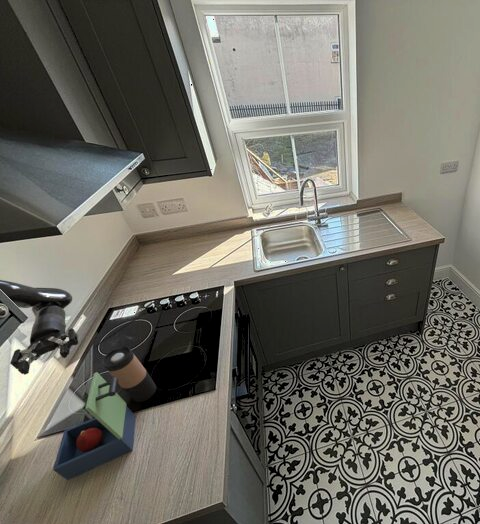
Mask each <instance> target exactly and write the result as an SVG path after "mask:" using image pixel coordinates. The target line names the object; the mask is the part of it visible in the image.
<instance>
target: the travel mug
mask: <svg viewBox="0 0 480 524" xmlns="http://www.w3.org/2000/svg"><path fill="white" fill-rule="evenodd" d="M101 363H102V366H103V367H104V368H105V370H106V371H107V372H108V373H109V374H110V375H111V377H112V378H118V383H117V385H119V386H120V387H121V388H122V390H123V391H124V392H125V393H126V394H127V395H128V396H129V397H130V398H131V399H132V400H133V401H134V402H136V403H143V402H145V401H147V400H149V399H150V398H152V397H153V395H155V393H156V391H157V385H156V383H155V382H154V380H153V378H152V377H151V375H150V374H149V373H148V370H147V369H146V368H145V367H144V366H143V364H142V363H141V361H140V360H139V359H138V358H137V356H136V355H135V353H134V352H133V351H132V350H131V348H130V347H128V346H123V347H120V348H114V349H112V350H111V351H109V352H107V354H106V355H105V356H104V357H103V359H102V361H101Z"/></svg>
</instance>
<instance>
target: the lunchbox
mask: <svg viewBox="0 0 480 524" xmlns="http://www.w3.org/2000/svg"><path fill="white" fill-rule="evenodd" d="M136 419H137V416H136V415H135V413H134V412H133V411H132V410H131V409H130V408H129V407H128V406H127V405H126V412H125V420H124V428H123V435H122V438H121V439H118V438H117V437H116V436H115V435H113V434H112V433H111V432H110V431H109V430H108V429H107V428H106V427H105V426H104V425H102V424H101V423H100V422H99V421H98V420H97V419H96V418H95V417H94V418H91V419H89V420H86V421H83V422H81V423H78V424H76V425H74V426H71V427H69V428H66V429H64V431H63V433H62V437H61V440H60V443H59V444H60V445H59V447H58V451H57V454H56V458H55V461H54V465H53V468H52V471H53V472H55V473H56V474H58V475H59V476H61V477H62V478H63V479H65V480H66V481H70V480H72V479H74V478H76V477H78V476H80V475H82V474H85V473H87V472H89V471H91V470H94V469H96V468H98V467H100V466H102V465H104V464H107V463H109V462H111V461H113V460H116V459H118V458H119V457H122V456H124V455H126V454H128V453H131V452H133V450H134V441H135V429H136ZM90 428H97V429H99V430H101V431H102V432H103V440H102V442H101V443H100V444H99V445H98V447H96V448H95V449H93V450H91V451H89V452H82V451H80V450H79V449H78V448H77V446H76V441H77V438H78V436H79V435H80V434H81V432H82V431H84V430H88V429H90Z"/></svg>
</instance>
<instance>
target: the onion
mask: <svg viewBox="0 0 480 524" xmlns="http://www.w3.org/2000/svg"><path fill="white" fill-rule="evenodd" d="M102 440H103V432H102V431H101V430H99V429H97V428H90V429H88V430H84V431H82V432H81V434H80V435H79V436H78V438H77V441H76V446H77V448H78V449H79V450H80V451H82V452H89V451H91V450H93V449H95V448H96V447H98V445H99V444H100V443H101V442H102Z"/></svg>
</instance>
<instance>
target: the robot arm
mask: <svg viewBox="0 0 480 524" xmlns="http://www.w3.org/2000/svg"><path fill="white" fill-rule="evenodd" d="M0 289H1V290H2V291H3V292H4V293H5V294H6V295H7V296H8V297H9V298H10V299H11V300H12V301H13V302H14V303H15V304H16V305H17V306H18V307H17V308H21V309H30V308H31V312H32V313H33V315H34V317H35V318H34V323H33V324H32V328H31V333H30V337H29V346H27V348H25V349H22V350H21V349H20V348H18V349H15V350H14V351H13V354H12V357H11V360H10V363H9V364H10V365H11V366H12V367H13V368H15V370H17V371H18V372H19V373H20V374H21V375H29V373H30V368H31V364H32V363H33V362H35V361H38V360H39V358H40V357H42V356H43V355H45V354H47V353H51V352H53V351H56V349H59V355H60V356H61V357H62V358H63V359H67V358H68V355H70V352H71V350H70V349H71V348H72V347H73V346H77V345H78V344H79V336H78V332H77V331H76V330H75V329H74V328H69V329H68V331H67V332H66V328H67V325H66V310H65V308H66V307H68V306H69V305H70V304H71V303H72V302H73V296H72V294H71V293H70V292H69V291H67V290H65V289H62V288H58V287H57V288H56V287H33V286H30V285H25V284H21V283H18V282H13V281H8V280H3V279H0ZM66 339H68V340H67V341H66ZM27 359H28V360H27Z"/></svg>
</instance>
